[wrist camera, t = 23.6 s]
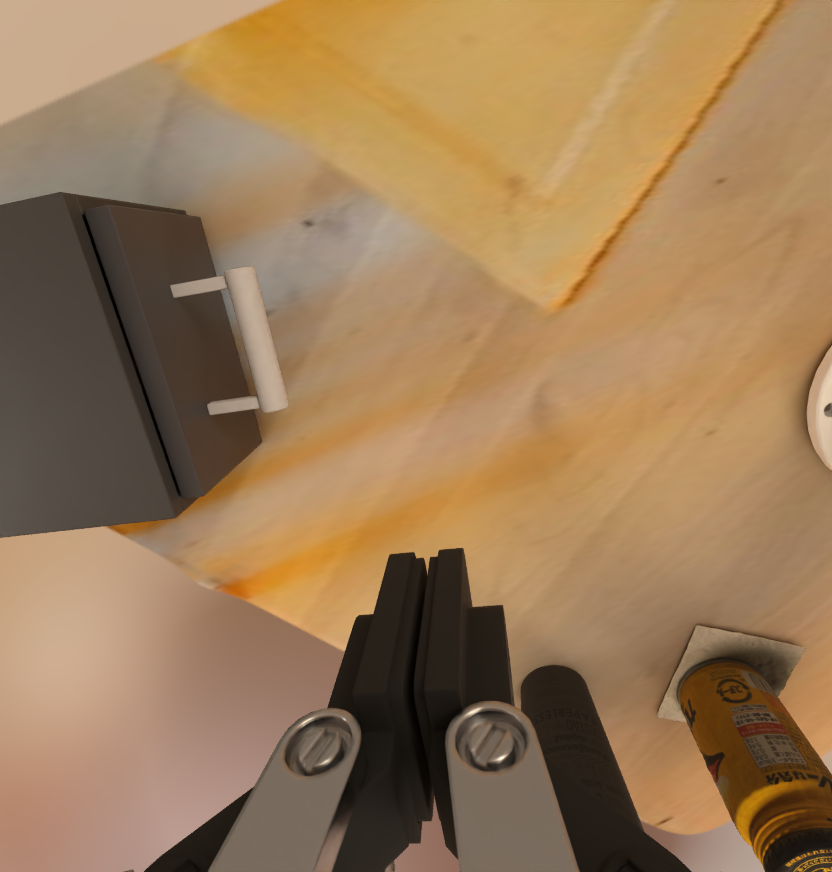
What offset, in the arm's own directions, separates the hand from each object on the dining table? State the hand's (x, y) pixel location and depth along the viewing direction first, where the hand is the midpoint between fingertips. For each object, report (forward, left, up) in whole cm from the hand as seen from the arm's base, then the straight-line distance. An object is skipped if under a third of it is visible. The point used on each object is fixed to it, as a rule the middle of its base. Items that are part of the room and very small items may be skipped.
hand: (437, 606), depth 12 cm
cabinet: (+22, -5, -21) cm, 31 cm away
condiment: (-16, +24, -21) cm, 36 cm away
